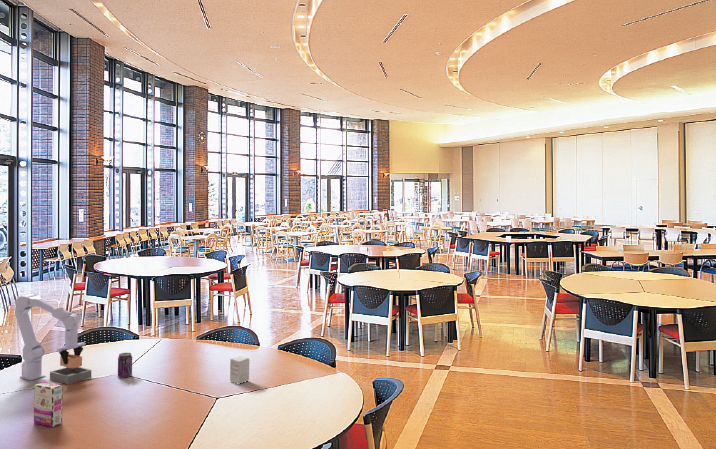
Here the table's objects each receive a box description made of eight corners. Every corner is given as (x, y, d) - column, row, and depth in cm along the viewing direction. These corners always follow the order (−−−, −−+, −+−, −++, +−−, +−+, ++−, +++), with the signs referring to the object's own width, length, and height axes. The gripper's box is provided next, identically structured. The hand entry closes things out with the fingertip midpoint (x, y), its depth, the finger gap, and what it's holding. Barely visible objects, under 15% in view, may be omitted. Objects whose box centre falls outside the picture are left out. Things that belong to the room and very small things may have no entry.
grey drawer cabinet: (240, 378, 278) (240, 355, 278) (249, 381, 274) (249, 358, 273) (229, 382, 272) (229, 358, 272) (238, 385, 268) (239, 361, 267)
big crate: (49, 379, 268) (49, 371, 268) (73, 372, 280) (73, 365, 280) (68, 384, 261) (68, 376, 261) (91, 377, 273) (91, 369, 273)
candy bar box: (63, 423, 215) (63, 384, 215) (52, 428, 211) (52, 388, 210) (44, 418, 219) (44, 381, 219) (33, 423, 215) (33, 384, 214)
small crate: (60, 365, 270) (60, 356, 270) (69, 363, 275) (70, 353, 275) (72, 368, 266) (72, 359, 266) (81, 366, 270) (82, 356, 270)
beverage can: (126, 378, 272) (126, 356, 272) (114, 377, 274) (115, 355, 273) (134, 374, 279) (135, 352, 279) (123, 373, 281) (123, 351, 280)
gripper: (62, 341, 262) (62, 367, 262) (88, 335, 275) (88, 360, 275) (54, 339, 265) (53, 365, 265) (80, 333, 278) (80, 358, 278)
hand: (70, 362), depth 270 cm, fingers closed on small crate, 5 cm apart
